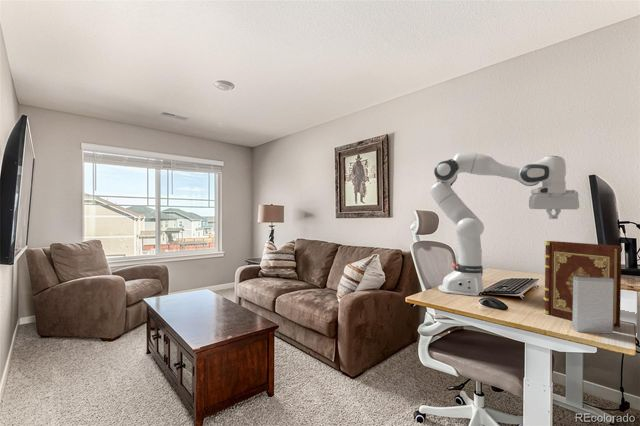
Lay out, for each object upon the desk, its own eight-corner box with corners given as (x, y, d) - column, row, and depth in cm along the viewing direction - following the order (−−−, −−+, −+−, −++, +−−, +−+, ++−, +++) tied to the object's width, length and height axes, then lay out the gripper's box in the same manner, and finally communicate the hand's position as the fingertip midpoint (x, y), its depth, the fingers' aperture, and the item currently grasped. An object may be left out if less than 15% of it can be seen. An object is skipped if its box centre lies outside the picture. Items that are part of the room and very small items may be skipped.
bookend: (577, 331, 106) (577, 277, 106) (572, 328, 108) (573, 275, 108) (612, 334, 104) (613, 278, 104) (607, 331, 106) (607, 277, 106)
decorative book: (540, 312, 126) (541, 241, 125) (548, 309, 130) (550, 240, 130) (612, 331, 106) (614, 247, 106) (620, 327, 111) (621, 245, 110)
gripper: (573, 190, 145) (573, 219, 145) (527, 190, 148) (526, 218, 148) (582, 189, 138) (582, 219, 138) (534, 189, 142) (533, 218, 142)
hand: (553, 218), depth 143 cm, fingers closed
